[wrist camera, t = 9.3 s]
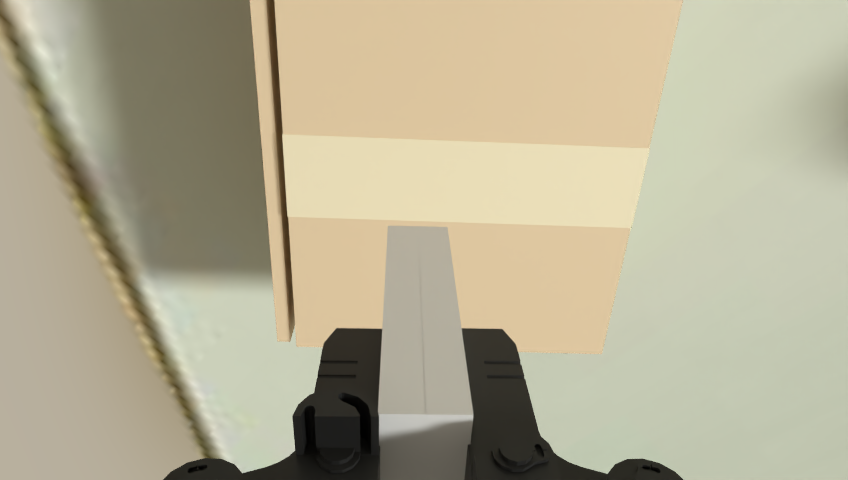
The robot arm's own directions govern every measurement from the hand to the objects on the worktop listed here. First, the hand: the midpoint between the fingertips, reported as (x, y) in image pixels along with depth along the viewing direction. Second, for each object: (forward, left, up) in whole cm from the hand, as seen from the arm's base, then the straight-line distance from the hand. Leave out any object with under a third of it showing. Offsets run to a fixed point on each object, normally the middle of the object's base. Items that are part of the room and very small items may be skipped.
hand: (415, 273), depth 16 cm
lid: (0, +1, -8) cm, 8 cm away
